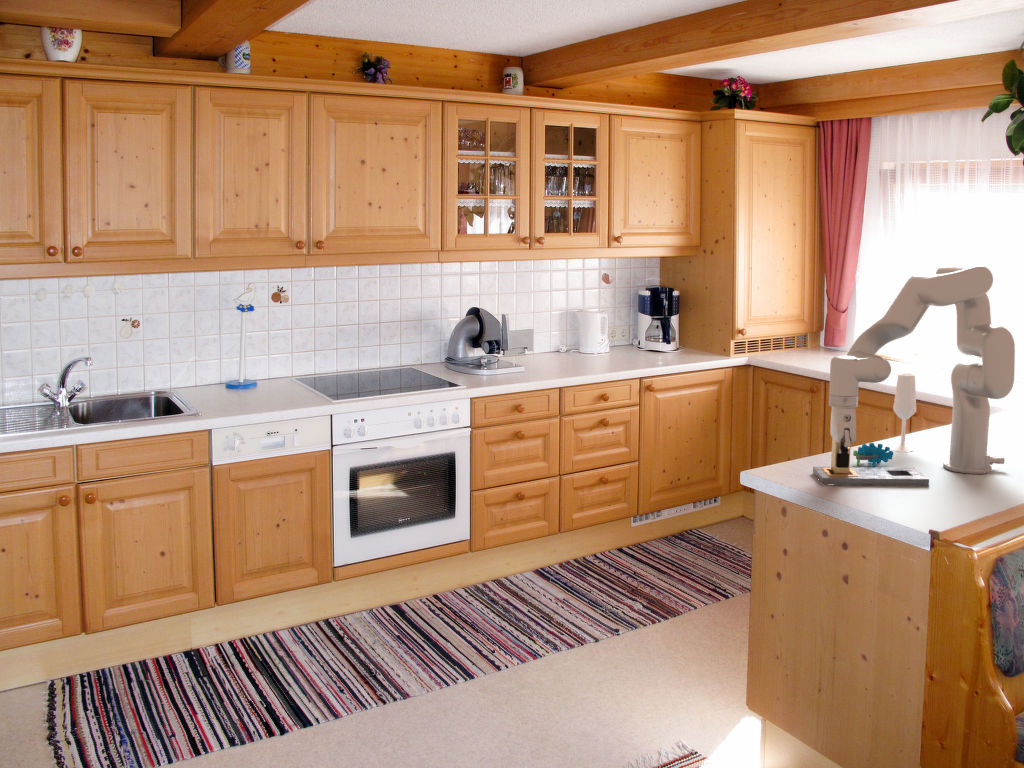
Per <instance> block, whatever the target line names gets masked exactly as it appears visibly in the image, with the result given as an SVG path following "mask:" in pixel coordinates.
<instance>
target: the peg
mask: <svg viewBox="0 0 1024 768" xmlns="http://www.w3.org/2000/svg"><path fill="white" fill-rule="evenodd" d="M849 438H850V436H849ZM831 439H832V440H831V456H830V457H831V458H830V467H831V474H832V475H849V468H850V467H851V466H850V464H851V463H850V462H851V452H850V453H849V467H848V468H838V467H837V466H836V464H837V453H838V442H837V441H836V440H835V439H834V438H833V437H831ZM850 440H851V438H850ZM841 441H842V442H844V440H841ZM851 444H852V442H851V441H850V447H851ZM842 446H844V445H841V448H842Z"/></svg>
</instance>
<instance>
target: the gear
mask: <svg viewBox="0 0 1024 768" xmlns="http://www.w3.org/2000/svg"><path fill="white" fill-rule="evenodd" d="M852 456H854V457H855V459H856V467H860V462H861V461H867V463H871V467H876V465H877V464H881V463H882V462H883V463H888V462H889V460H890V461H891V460H893V456H894V451H893V450H891V447H889V446H885V447H884V448H883V443H878V444H877V446H876V445H875V443H874V442H870V443H868V444H867V443H863V444H862V445H861V446H858V448H857V450H853V453H852Z"/></svg>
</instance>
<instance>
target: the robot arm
mask: <svg viewBox="0 0 1024 768" xmlns="http://www.w3.org/2000/svg"><path fill="white" fill-rule="evenodd" d="M993 283H994V276H993V273H992V271H991V270H990V269H989V268H988V267H986V266H985V265H982V264H970V263H969V264H967V263H946V264H943V265H941V266H940V267H938V268H937V269H936V271H935V273H934V274H933V273H917V274H914V275H912V276H910V278H908V280H907V281H906V283H905V284H904V286H903V287H902V289H901V290H900V291H899V293H898V295H897V296H896V298H895V299H894V301H893V302H892V304H891V305H890V307H889V308H888V310H887V311H886V313H885V314H884V315H883V317H882V318H881V319H879V320H878V321H875V323H874V324H872V325H871V326H869V328H867V329H865V331H863V332H862V333H861V334H860V335H859V336H858V337H857V339H856V340H855V341H854V342H853V344H852V345H851V347H850V349H849V351H848V352H847V354H846V355H836V356H833V357H832V358H831V360H830V364H829V365H830V370H829V372H830V373H829V388H828V389H829V394H828V406H829V407H831V413H830V429H829V430H830V432H829V433H830V437H831V438H832V437H833V438H834V439H835V440H836V441H837V442H838V453H837V464H836V466H837V467H838V468H848V467H849V453H850V454H851V446H850V441H851V444H856V442H857V413H856V412H857V411H856V408H858V406H859V405H858V404H859V402H858V401H859V384H860V383H871V384H878V383H882V382H884V381H885V380H887V379H888V378H889V376H890V375H891V372H892V366H891V364H890V362H889V361H888V360H887V359H886V358H885V357H883V356H880V355H877V353H878V351H879V350H881V348H883V347H884V346H886V345H887V344H888V343H891V342H893V341H895V340H898V339H901V338H903V337H906V336H909V335H910V334H911V333H913V331H914V330H915V329H916V327H917V326H918V324H919V322H920V321H921V320H922V318H923V316H924V315H925V314H926V312H927V310H928V309H929V308H930V306H931V307H932V306H933V307H946V306H947V307H948V306H951V305H955V309H956V345H957V349H958V351H959V352H960V353H961V354H963V355H965V356H969V357H975V358H978V359H981V361H980V360H976V359H975V360H974V359H966V360H961V361H960V362H958V363H957V364H956V365H955V366H954V368H953V369H952V371H951V374H950V379H951V380H950V382H951V388H952V389H951V390H952V416H951V417H952V419H951V431H950V432H951V433H950V434H951V435H950V448H949V449H950V450H949V459H948V460H945V461H944V462H943V463H942V465H943V468H944V469H946V470H948V471H952V472H954V473H962V474H968V473H969V475H980V474H981V475H982V474H984V475H985V474H988V473H990V472H992V471H993V469H992V468H993V467H992V465H993V464H995V465H1004V464H1005V458H1004V457H1003V456H1002V457H1001V456H996V455H990V454H988V443H989V442H988V439H989V426H990V416H991V415H990V414H991V408H990V401H989V399H991V400H1000V399H1004V398H1005V397H1007V396H1008V395H1009V394H1010V393H1011V391H1012V389H1013V386H1014V383H1015V370H1016V369H1015V366H1016V365H1015V361H1016V359H1015V357H1016V355H1015V353H1016V350H1015V348H1016V347H1015V345H1016V344H1015V339H1014V336H1013V335H1012V333H1011V331H1009V329H1008V328H1005V327H1004V326H1000V325H996V324H992V319H991V317H992V316H991V304H990V300H989V296H988V295H987V293H988V292H989V291H990V290H991V288H992V287H993ZM849 436H850V438H851V440H850V438H849ZM841 440H844V442H842V441H841ZM841 445H844V446H842V448H841Z"/></svg>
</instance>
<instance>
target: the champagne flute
mask: <svg viewBox="0 0 1024 768" xmlns="http://www.w3.org/2000/svg"><path fill="white" fill-rule="evenodd" d="M916 388H917V387H916V374H914V373H907V372H903V373H902V372H901V373H898V375H897V381H896V388H895V395H894V401H893V408H892V410H893V412H894V414H895V415H896V416H897V417H898V418H899V419H901V430H900V431H901V436H900V443H899V444H896V445H895V446H893V447H890V451H893V452H899V453H910V452H909V451H912V450H914V448H911V447H910V446H909V445H907V444H906V443H905V442H906V432H907V431H906V429H907V420H909V419H910V418H911V417H913V416H914V414H915V413H916V412H917V396H916V395H917V391H916Z"/></svg>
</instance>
